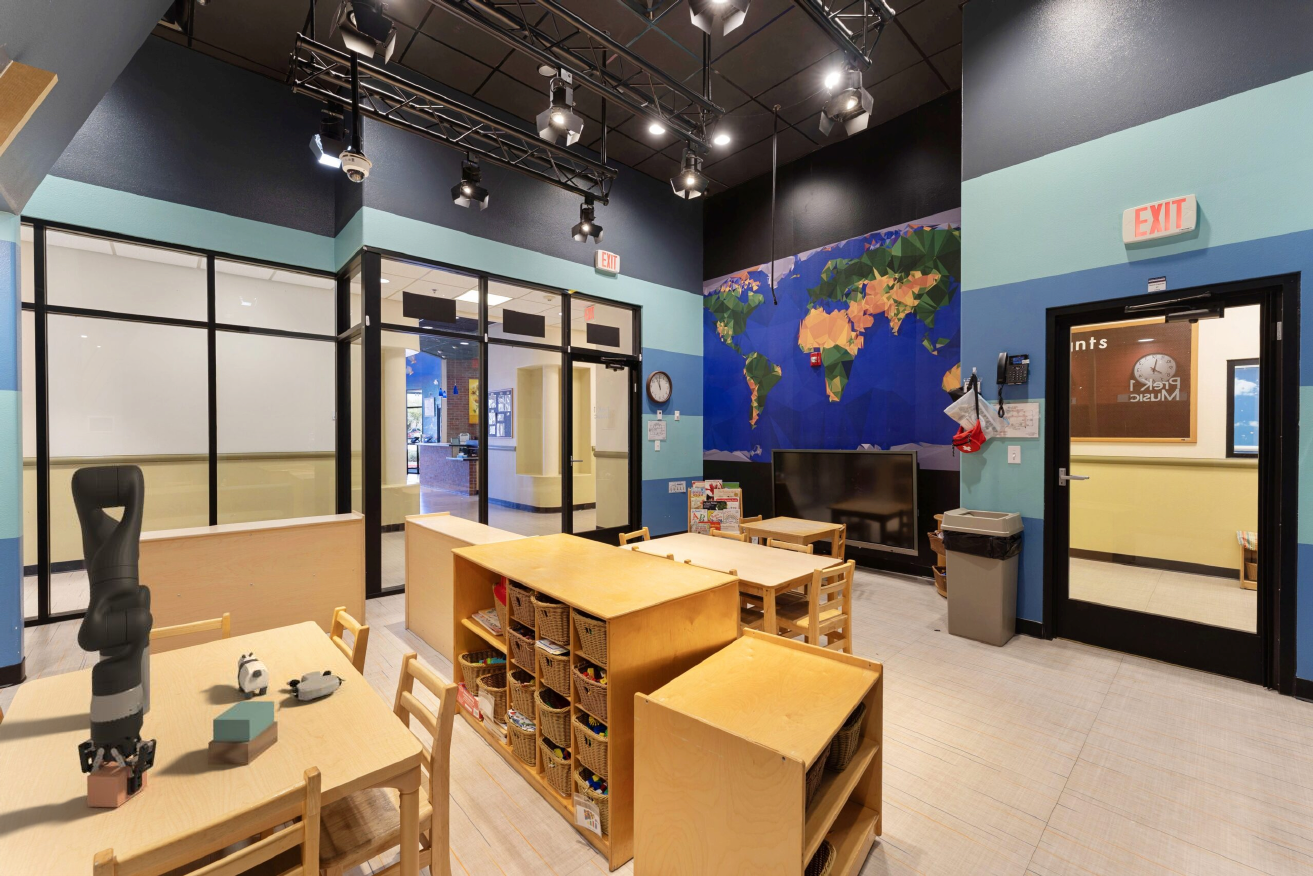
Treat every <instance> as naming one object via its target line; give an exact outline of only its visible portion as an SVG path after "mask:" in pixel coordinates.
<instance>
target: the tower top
mask: <svg viewBox="0 0 1313 876" xmlns="http://www.w3.org/2000/svg"><path fill="white" fill-rule="evenodd" d="M274 721H275V701H273V700H272V701H271V700H268V701H265V700H264V701H262V700H257V701H256V700H254V701H253V700H252V701H251V700H246V701H245V700H244V701H243V700H241V701H238V702H237V703H235V704H234V705H232V706H230V707H229V708H228V709H226V710H225V711H224V712H222V713H220V714H219V715H218V716H217V717H215V718H213V719H212V732H213V733H212V740H213V742H250V741H251V740H252V739H254V738H255V737H256V736H257V735H259V734H260V733H261V732H262V731H264V730H265V729H266V728H267V727H269V726H270V725H271V724H272V723H274Z"/></svg>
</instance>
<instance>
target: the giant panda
mask: <svg viewBox="0 0 1313 876" xmlns="http://www.w3.org/2000/svg"><path fill="white" fill-rule="evenodd" d="M237 668H238V671H237V682H238V692H239V693H240V694H243V693H244V694H245V696H244V699H245V700H246V701H250V700H252V699H253V693H254V691H255V690H258V695H259V696H265V695H267V689H268V686H269V682H270V677H269V671H268V669H267V667H266V666H265V664H264V663H263V662H262V661H261V660H259V659H258V658H257V657H255V655H254V652H250V653H249V654H242V655H241V656H240V658H239V659H238V661H237Z"/></svg>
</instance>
